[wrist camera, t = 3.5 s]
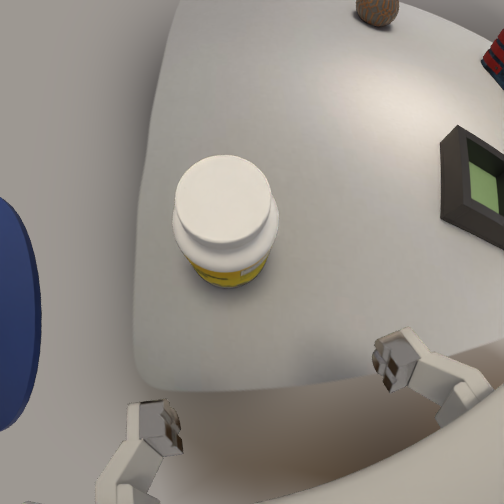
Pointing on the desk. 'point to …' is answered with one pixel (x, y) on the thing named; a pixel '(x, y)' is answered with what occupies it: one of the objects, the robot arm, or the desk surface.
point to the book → (495, 60)
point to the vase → (377, 11)
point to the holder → (472, 185)
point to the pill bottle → (225, 219)
